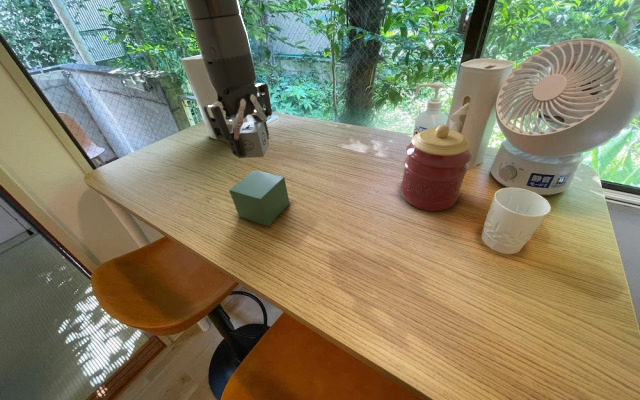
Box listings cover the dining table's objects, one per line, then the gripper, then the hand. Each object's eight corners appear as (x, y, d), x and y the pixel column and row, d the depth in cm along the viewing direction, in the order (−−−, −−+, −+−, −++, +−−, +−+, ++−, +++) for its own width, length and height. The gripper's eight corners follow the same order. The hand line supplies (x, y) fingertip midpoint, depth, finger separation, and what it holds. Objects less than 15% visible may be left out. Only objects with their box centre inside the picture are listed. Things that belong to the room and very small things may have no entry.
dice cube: (238, 158, 49) (230, 133, 46) (245, 146, 53) (238, 123, 50) (263, 156, 48) (257, 132, 45) (269, 144, 52) (263, 121, 49)
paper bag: (227, 145, 95) (198, 61, 77) (209, 136, 103) (179, 59, 86) (268, 128, 104) (250, 50, 87) (248, 120, 113) (229, 48, 96)
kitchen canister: (433, 175, 68) (448, 109, 57) (470, 203, 58) (496, 130, 47) (390, 187, 66) (397, 120, 55) (420, 218, 56) (437, 145, 45)
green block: (268, 226, 58) (260, 199, 53) (239, 216, 62) (228, 190, 57) (289, 203, 64) (284, 176, 59) (261, 195, 68) (254, 169, 63)
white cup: (517, 229, 51) (539, 189, 45) (532, 260, 45) (560, 218, 39) (473, 224, 53) (489, 185, 47) (482, 253, 47) (501, 213, 41)
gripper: (239, 44, 46) (260, 131, 57) (172, 62, 37) (212, 162, 47) (272, 44, 43) (288, 135, 53) (208, 62, 34) (243, 169, 44)
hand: (252, 147), depth 50 cm, fingers closed on dice cube, 6 cm apart
